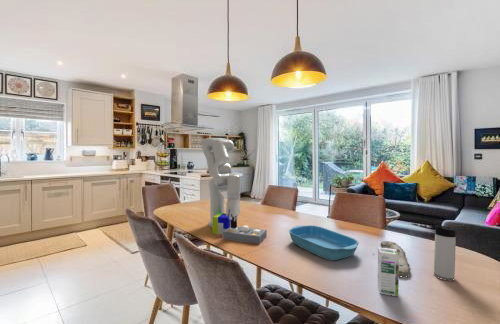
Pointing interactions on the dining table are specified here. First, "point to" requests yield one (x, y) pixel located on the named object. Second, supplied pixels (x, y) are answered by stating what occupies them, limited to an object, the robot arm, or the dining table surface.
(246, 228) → the middle button
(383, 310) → the dining table surface
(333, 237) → the casserole dish
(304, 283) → the dining table surface
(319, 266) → the dining table surface
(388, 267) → the syrup box
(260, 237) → the button board
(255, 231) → the button
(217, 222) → the puzzle toy
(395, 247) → the long grey stone
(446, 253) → the travel mug
